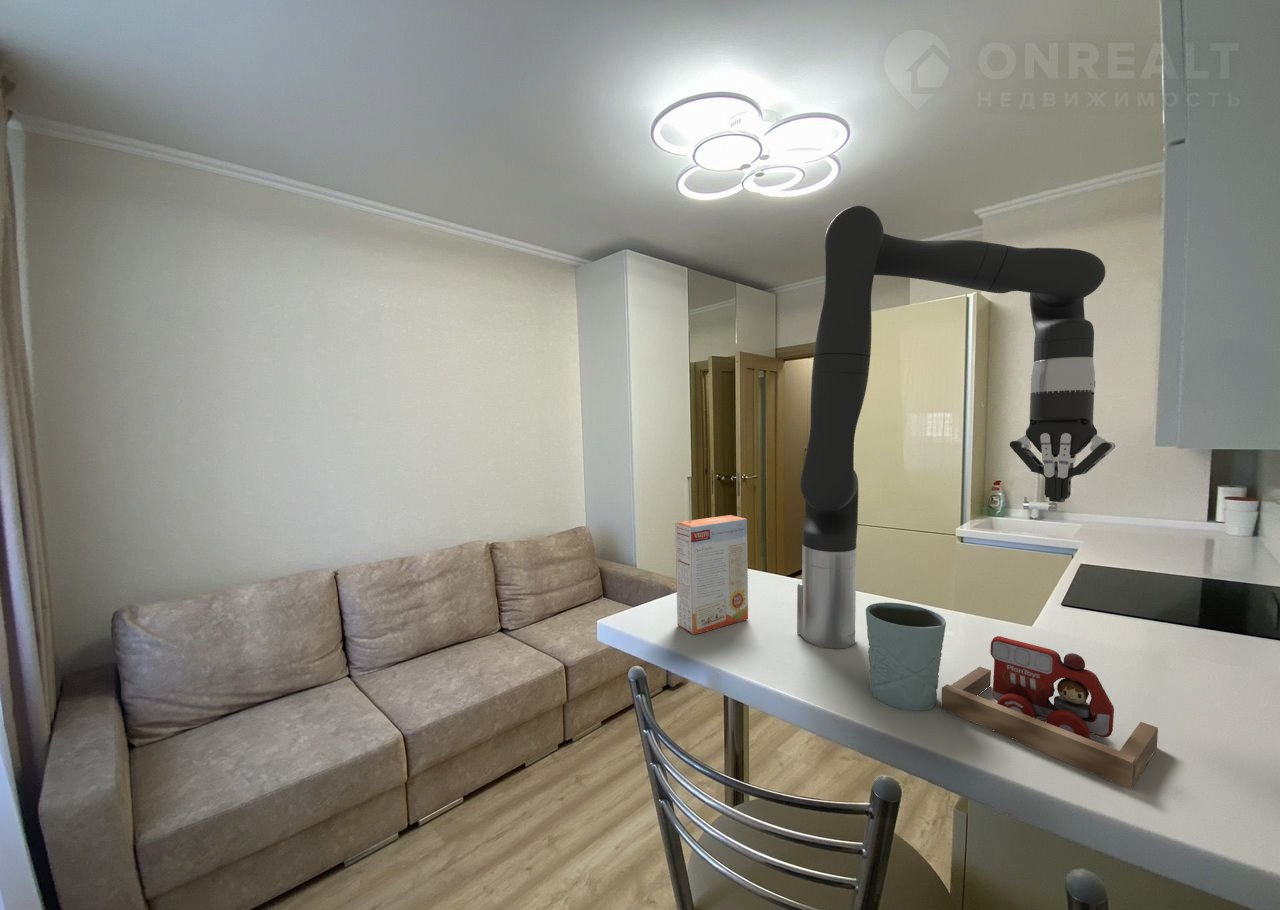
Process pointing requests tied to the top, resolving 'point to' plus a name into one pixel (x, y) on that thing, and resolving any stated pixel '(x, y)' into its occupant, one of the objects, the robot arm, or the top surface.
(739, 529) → the cracker box
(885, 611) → the grey-green textured vase
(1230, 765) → the top surface
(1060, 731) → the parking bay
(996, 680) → the toy fire truck
